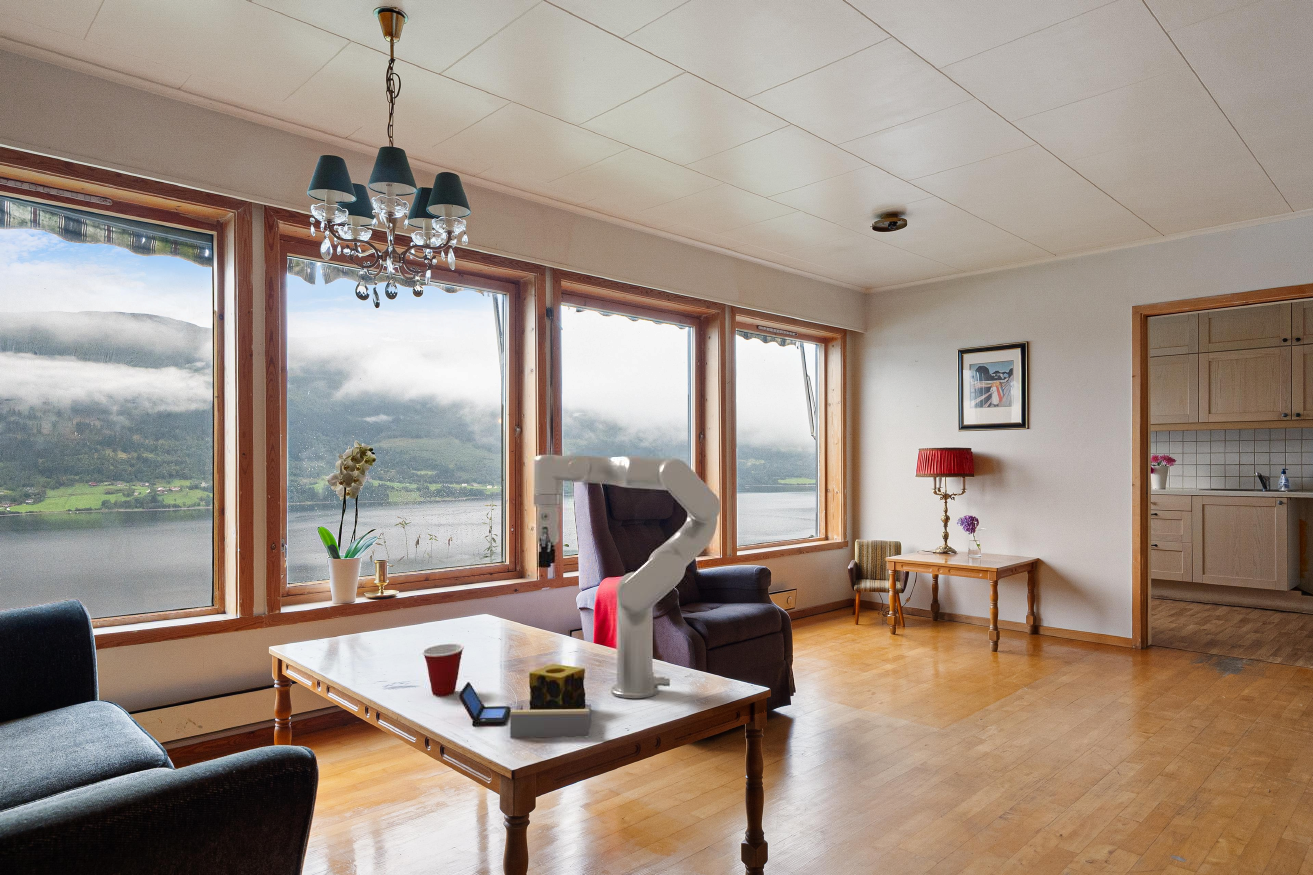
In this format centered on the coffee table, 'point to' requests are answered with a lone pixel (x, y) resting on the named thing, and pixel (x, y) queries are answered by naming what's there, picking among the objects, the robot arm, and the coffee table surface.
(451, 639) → the coffee table surface
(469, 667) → the coffee table surface
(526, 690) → the coffee table surface
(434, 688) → the plastic cup
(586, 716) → the holder
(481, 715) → the handheld game console
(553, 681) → the yellow and black cube
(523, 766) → the coffee table surface
